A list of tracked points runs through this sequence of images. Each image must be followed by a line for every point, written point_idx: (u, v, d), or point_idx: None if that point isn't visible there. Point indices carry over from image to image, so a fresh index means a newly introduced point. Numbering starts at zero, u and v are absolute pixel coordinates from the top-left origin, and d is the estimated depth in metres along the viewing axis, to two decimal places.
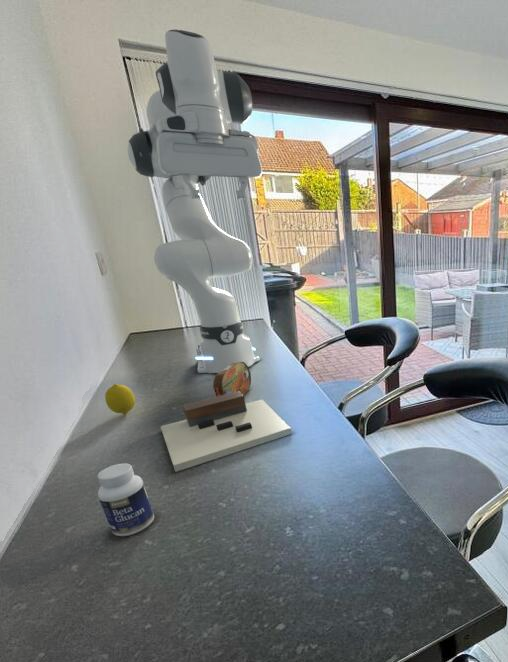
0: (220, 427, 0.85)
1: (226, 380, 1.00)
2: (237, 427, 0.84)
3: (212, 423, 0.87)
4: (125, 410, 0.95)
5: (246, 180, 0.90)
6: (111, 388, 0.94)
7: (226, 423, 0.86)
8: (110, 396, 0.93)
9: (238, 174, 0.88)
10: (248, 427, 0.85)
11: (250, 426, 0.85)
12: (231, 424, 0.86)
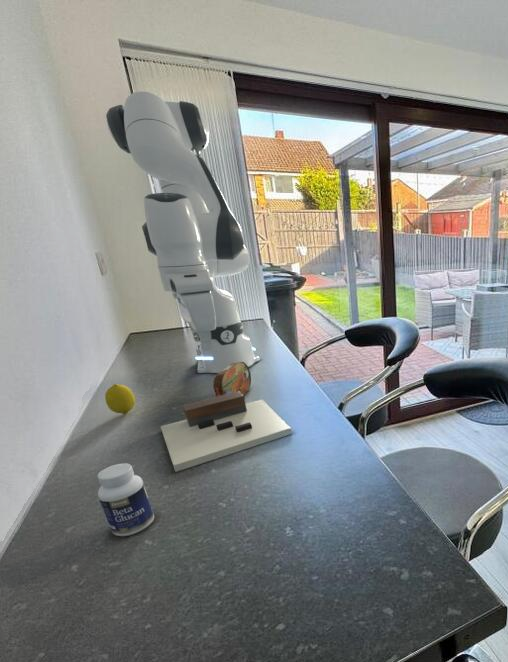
0: (220, 427, 0.85)
1: (226, 380, 1.00)
2: (237, 427, 0.84)
3: (212, 423, 0.87)
4: (125, 410, 0.95)
5: None
6: (111, 388, 0.94)
7: (226, 423, 0.86)
8: (110, 396, 0.93)
9: None
10: (248, 427, 0.85)
11: (250, 426, 0.85)
12: (231, 424, 0.86)
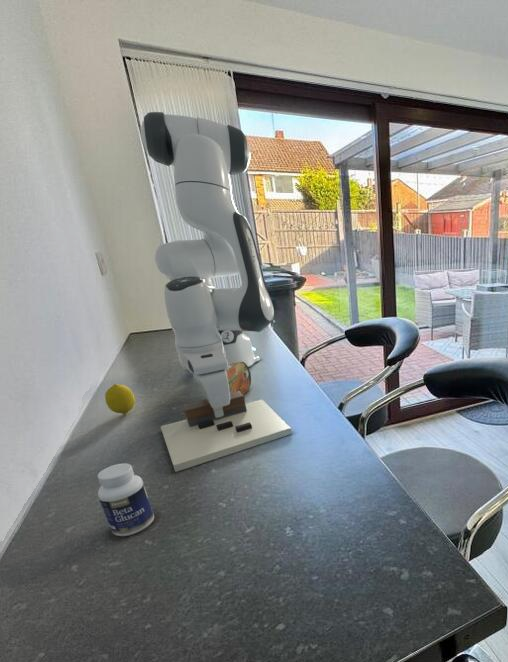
0: (220, 427, 0.85)
1: None
2: (237, 427, 0.84)
3: (212, 423, 0.87)
4: (125, 410, 0.95)
5: None
6: (111, 388, 0.94)
7: (226, 423, 0.86)
8: (110, 396, 0.93)
9: None
10: (248, 427, 0.85)
11: (250, 426, 0.85)
12: (231, 424, 0.86)
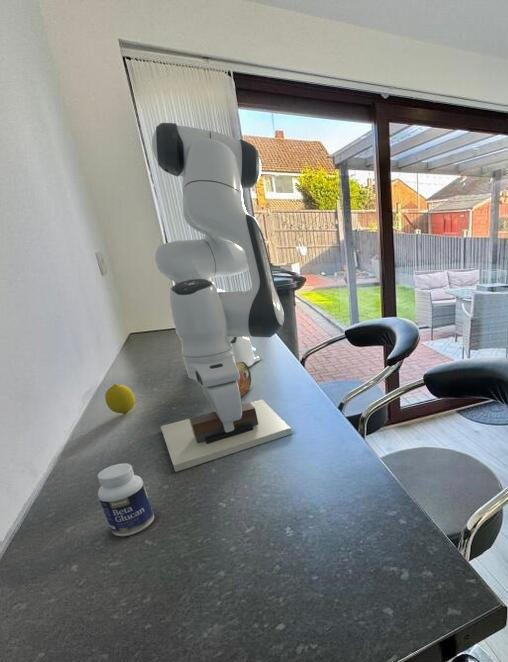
0: (225, 435, 0.82)
1: None
2: (238, 429, 0.83)
3: (220, 437, 0.81)
4: (125, 410, 0.95)
5: None
6: (111, 388, 0.94)
7: (231, 431, 0.83)
8: (110, 396, 0.93)
9: None
10: (250, 428, 0.84)
11: (251, 428, 0.84)
12: (236, 432, 0.83)
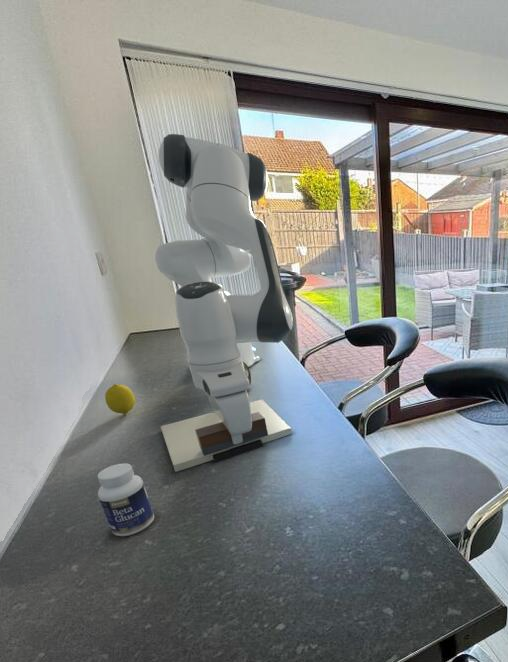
0: None
1: None
2: (248, 448, 0.80)
3: None
4: (125, 410, 0.95)
5: None
6: (111, 388, 0.94)
7: (241, 451, 0.79)
8: (110, 396, 0.93)
9: None
10: None
11: None
12: None
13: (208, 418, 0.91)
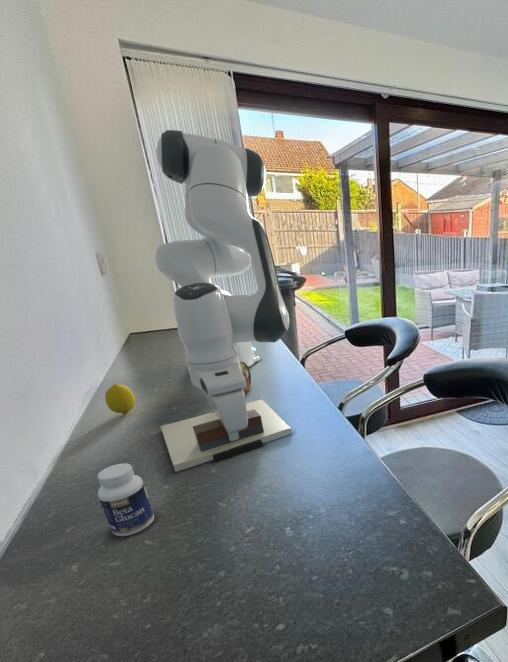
0: None
1: None
2: (248, 448, 0.80)
3: None
4: (125, 410, 0.95)
5: None
6: (111, 388, 0.94)
7: (241, 451, 0.79)
8: (110, 396, 0.93)
9: None
10: None
11: None
12: None
13: (208, 418, 0.91)
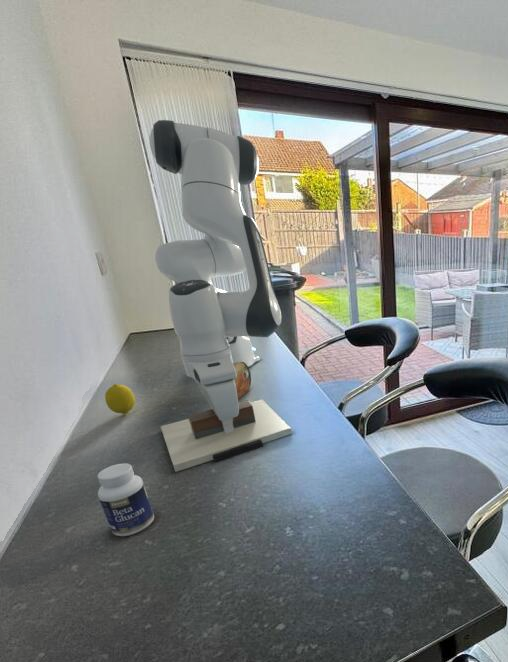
0: None
1: None
2: (248, 448, 0.80)
3: None
4: (125, 410, 0.95)
5: None
6: (111, 388, 0.94)
7: (241, 451, 0.79)
8: (110, 396, 0.93)
9: None
10: None
11: None
12: None
13: None
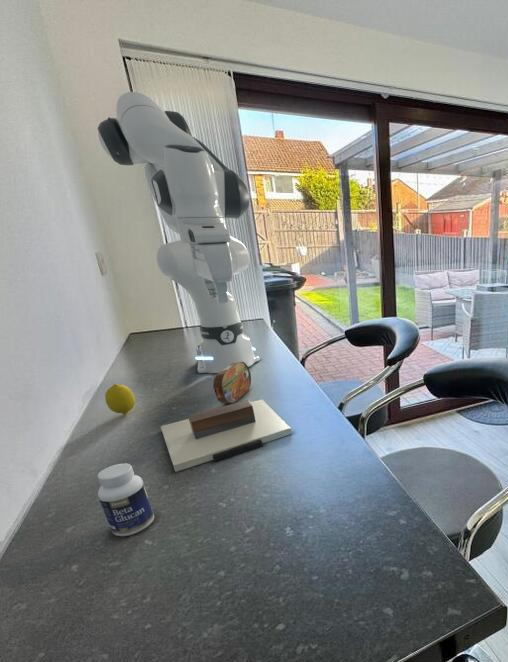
0: None
1: (226, 380, 1.00)
2: (248, 448, 0.80)
3: None
4: (125, 410, 0.95)
5: None
6: (111, 388, 0.94)
7: (241, 451, 0.79)
8: (110, 396, 0.93)
9: None
10: None
11: None
12: None
13: None
